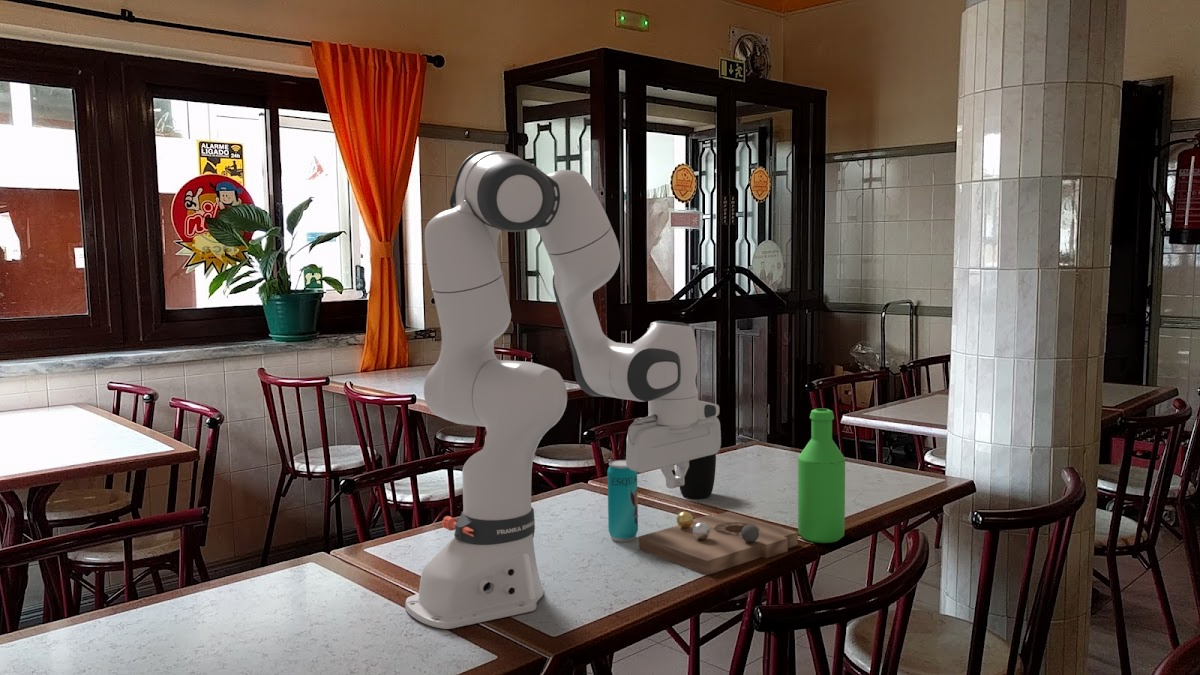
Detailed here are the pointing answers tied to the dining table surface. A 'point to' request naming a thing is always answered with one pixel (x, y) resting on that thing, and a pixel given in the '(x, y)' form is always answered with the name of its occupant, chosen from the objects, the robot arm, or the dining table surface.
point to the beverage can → (622, 502)
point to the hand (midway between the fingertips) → (675, 486)
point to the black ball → (750, 533)
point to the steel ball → (701, 530)
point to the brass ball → (684, 519)
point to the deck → (718, 543)
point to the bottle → (821, 483)
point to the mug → (699, 478)
